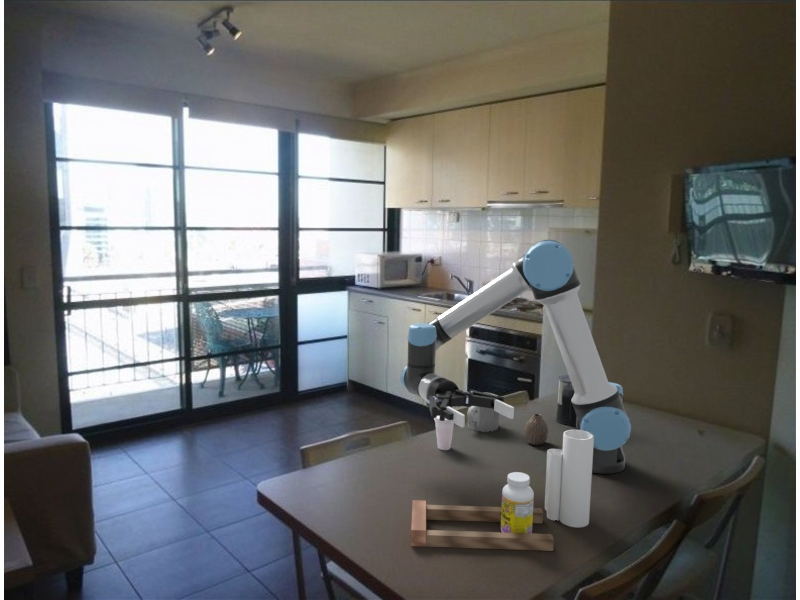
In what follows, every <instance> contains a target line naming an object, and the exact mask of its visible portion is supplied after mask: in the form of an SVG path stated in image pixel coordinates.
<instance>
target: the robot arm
mask: <svg viewBox="0 0 800 600" xmlns="http://www.w3.org/2000/svg"><path fill="white" fill-rule="evenodd" d="M573 259H574V258H573V256H572V254H571V252H570V250H569V249H568V248H567V247H566V246H565V245H564V244H562V243H561V242H559V241H557V240H554V239H543V240H540V241H537V242H536V243H534V244H532V246H530V247H529V248H528V250H527V251H526V252H525V253H524V254H523V255H522V256H521V257H519V258H517V259H516V260H514V261H513V262H512V264H511V265H512V266H511V267H510V268H509V269H507V271H505V272H503V273H502V274H500V275H499V276H497V277H495V278H494V279H493V280H491V281H490V282H488V283H486V284H485V285H483V286H482V287H480V288H479V289H477V290H476V291H475V292H473V293H471V294H470V295H469V296H467V297H465V298H464V299H463V300H461V301H459V302H457V304H455V305H454V306H451V308H449V309H447V310H446V311H444V312H443V313H441V314H440V315H438V316H437V317H436V318H434V319H432V320H431V321H429V322H427V323H426V322H425V323H423V322H420V323H419V322H418V323H413V324H411V325H409V327H408V334H407V365H406V366H405V367H404V368H403V369H402V372H401V374H400V383H401V385H402V387H403V388H405V390H407V391H408V392H409V393H411V394H412V395H415V396H417V397H419V398H421V399H422V400H423V401H424V400H425V401H426V403H425V404H426V406H427V407H428V409H429V412H430V416H431V418H433V419H434V418H436V417H437V416H440V421H445V418H446V419H447V420H450V421H451V422H453V423H454V425H457V426H458V427H460V428H465V424H466V423H465V422H466V421H465V420H466V419H465V418H466V415H465V414H464V413H462V412H460V411H458V410H456V409H455V408H453V407H457V408H459V407H465V408H468V407H471V406H477V407H484V408H491V409H494V411H496V412H498V413H499V415H501V416H504V417H506V418H508V419H510V420H514V416H515V407H514V406H512V405H510V404H508V403H505V397H504V396H501V395H497V394H495V395H492V394H493V393H491V394H487V393H488V392H481V391H478V390H475V389H472V388H471V389H468V391H463V390H461V389H460V388H459V387H458V385H457V383H456V382H454V381H452V380H450V379H448V378H446V377H444V376H442V375H440V374H437V373H435V372H436V352H437V350H438V349H439V348H440V347H441V346H443V345H445V344H446V343H447V342H449V341H451V340H452V339H453V338H454V339H455V337H457V336H459V335H460V334H461V333H463V332H465V331H467V330H468V329H470V328H471V327H472V326H474V325H476V324H477V323H479V322H480V321H482V320H484V319H485V318H487V317H488V316H489V315H492V314H493V313H494V312H496V311H497V310H499V309H501V308H502V307H503V306H505V305H508V303H510V302H511V301H514V299H516V298H518V297H520V296H521V295H523V294H524V293H526V292H532V294H533V299H534V300H535V302H537V303H539V304H542V305H543V306H544V309H545V314H546V315H547V318H548V322H549V324H550V326H551V331H552V332H553V336H554V339H555V341H556V343H557V346H558V349H559V352H560V355H561V358H562V360H563V364H564V365H565V369H566V371H567V375H569V378H570V380H571V383H572V386H573V389H574V391H575V393H574V396H573V397H572V399H571V401H572V404H573V407H574V410H575V413H576V415H577V419H576V425H575V430H583V431H587V432H590V433H591V434H593V435H594V445H593V462H592V474H593V473H594V474H602V475H603V474H606V475H607V474H608V475H609V474H616V473H617V474H618V473H620V472H621V471H624V470H625V467H626V466H625V465H626V458H625V457H626V456H625V453H624V450H623V446H624V445H625V444H626V443H627V441H628V440H629V438H630V435H631V430H632V424H631V420H630V418H629V416H628V415H627V414H628V413H627V411H626V409H625V407H624V404H623V396H624V393H623V392H624V390H623V389H624V388H623V386H622V385H621V384H619V383H616V382H610V381H609V380H608V378H607V377H608V376H607V375H606V371H605V368H604V366H603V364H602V361H601V357H600V355H599V352H598V350H597V346H596V343H595V340H594V338H593V335H592V332H591V329H590V326H589V323H588V321H587V318H586V315H585V312H584V310H583V307H582V306H583V305H582V304H581V302H580V299H579V295H578V292H579V290H580V288H581V282H580V279H579V276H578V273H577V271H576V268H575V265H574V260H573ZM496 395H497V396H496Z"/></svg>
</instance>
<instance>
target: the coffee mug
mask: <svg viewBox="0 0 800 600" xmlns="http://www.w3.org/2000/svg"><path fill="white" fill-rule="evenodd" d="M486 393H487V394H492V395H496V396H498V395H497V394H494V393H491V392H486ZM467 408H468V409H467V414H466V420H467V427H468V428H469V429H471V430H472V431H475V432H479V431H481V432H482V433H489V431H491V432H495V431H497V430H499V427H500V426H499V423H500V422H499V421H500V420H499V418H500V416H499V415H500V413H498V412H496V411H494V409H491V408H484V407H477V406H471V407H467ZM494 430H495V431H494Z"/></svg>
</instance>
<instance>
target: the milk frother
mask: <svg viewBox="0 0 800 600" xmlns="http://www.w3.org/2000/svg"><path fill="white" fill-rule="evenodd" d="M557 379H558V390H557V403H556V404H557V405H556V417H555V421H556V422H558V423H560V424H563V425H568V426H576V419H577V415H576V413H575V410H574V407H573V404H572V401H571V399H572V397H573V396H574V393H575V391H574V389H573V386H572V383H571V380H570V378H569V375H568V374H567V375H560V376H558V377H557Z"/></svg>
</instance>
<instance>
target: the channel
mask: <svg viewBox="0 0 800 600" xmlns="http://www.w3.org/2000/svg"><path fill="white" fill-rule="evenodd" d="M411 504H412V508H411V526H410V527H411V529H410V531H411V532H410V534H411V535H410V547H427V548H428V547H431V548H432V547H433V548H434V547H435V548H457V549H458V548H461V549H462V548H463V549H485V550H486V549H487V550H488V549H489V550H490V549H493V550H518V551H519V550H520V551H522V550H523V551H545V552H548V551H552V552H553V551H554V547H555V545H554V544H555V539H554V536H553V534H552V533H533V532H532V533H502V531H501V532H499V531H497V532H494V531H473V530H472V531H470V530H442V529H441V530H438V529H435V530H434V529H427V520H430V521H432V520H433V521H457V522H459V521H461V522H463V521H464V522H490V523H491V522H493V523H494V522H495V523H501V511H502V506H483V505H482V506H480V505H479V506H478V505H477V506H476V505H475V506H474V505H450V504H449V505H448V504H447V505H446V504H427V501H426V500H424V499H423V500H421V499H418V500H417V499H412V503H411ZM543 521H544V511H543V508H542V507H541V508H540V507H533V524H543Z"/></svg>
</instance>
